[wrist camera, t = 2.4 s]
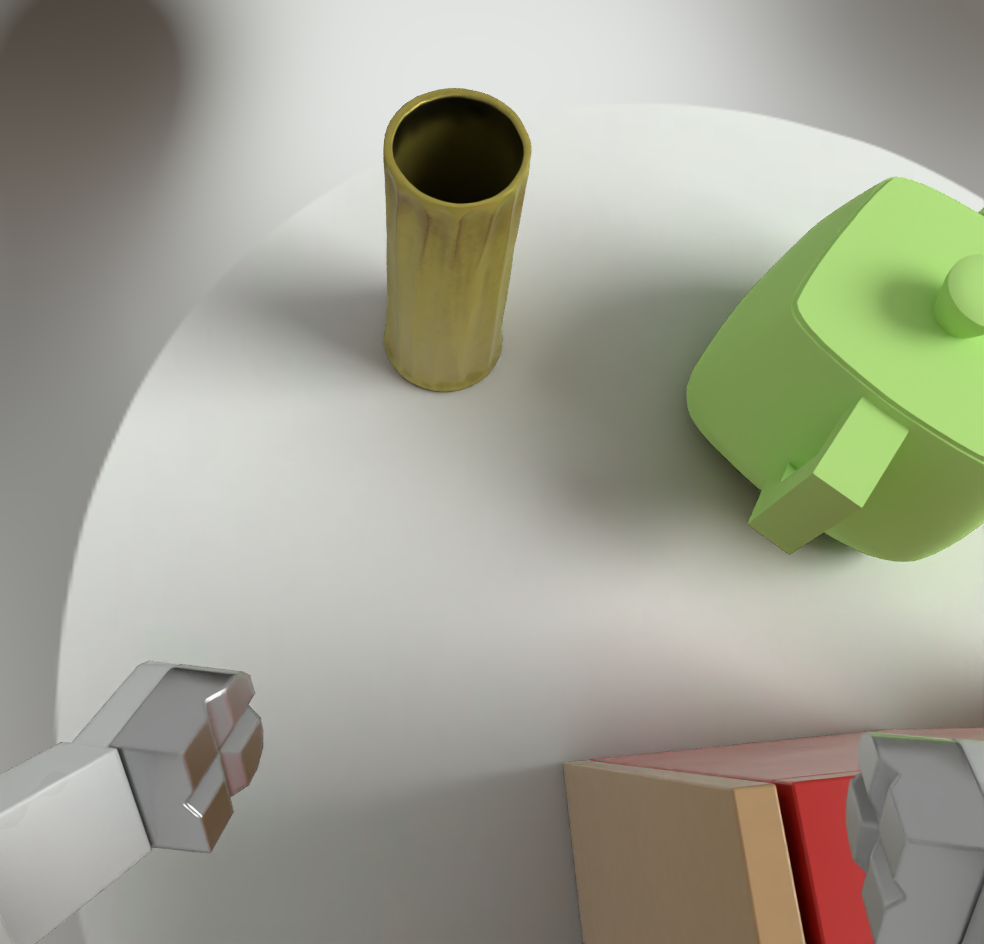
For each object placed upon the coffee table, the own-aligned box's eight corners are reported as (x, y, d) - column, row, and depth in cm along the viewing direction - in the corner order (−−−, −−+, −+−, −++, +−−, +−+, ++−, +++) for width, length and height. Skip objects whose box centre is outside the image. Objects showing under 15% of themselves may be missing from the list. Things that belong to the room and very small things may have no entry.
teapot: (1086, 418, 43) (1352, 291, 31) (915, 717, 37) (1161, 705, 25) (806, 223, 46) (950, 33, 33) (603, 473, 40) (687, 354, 27)
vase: (511, 301, 42) (557, 96, 29) (490, 404, 40) (529, 236, 27) (398, 277, 42) (391, 60, 29) (371, 380, 40) (351, 198, 27)
